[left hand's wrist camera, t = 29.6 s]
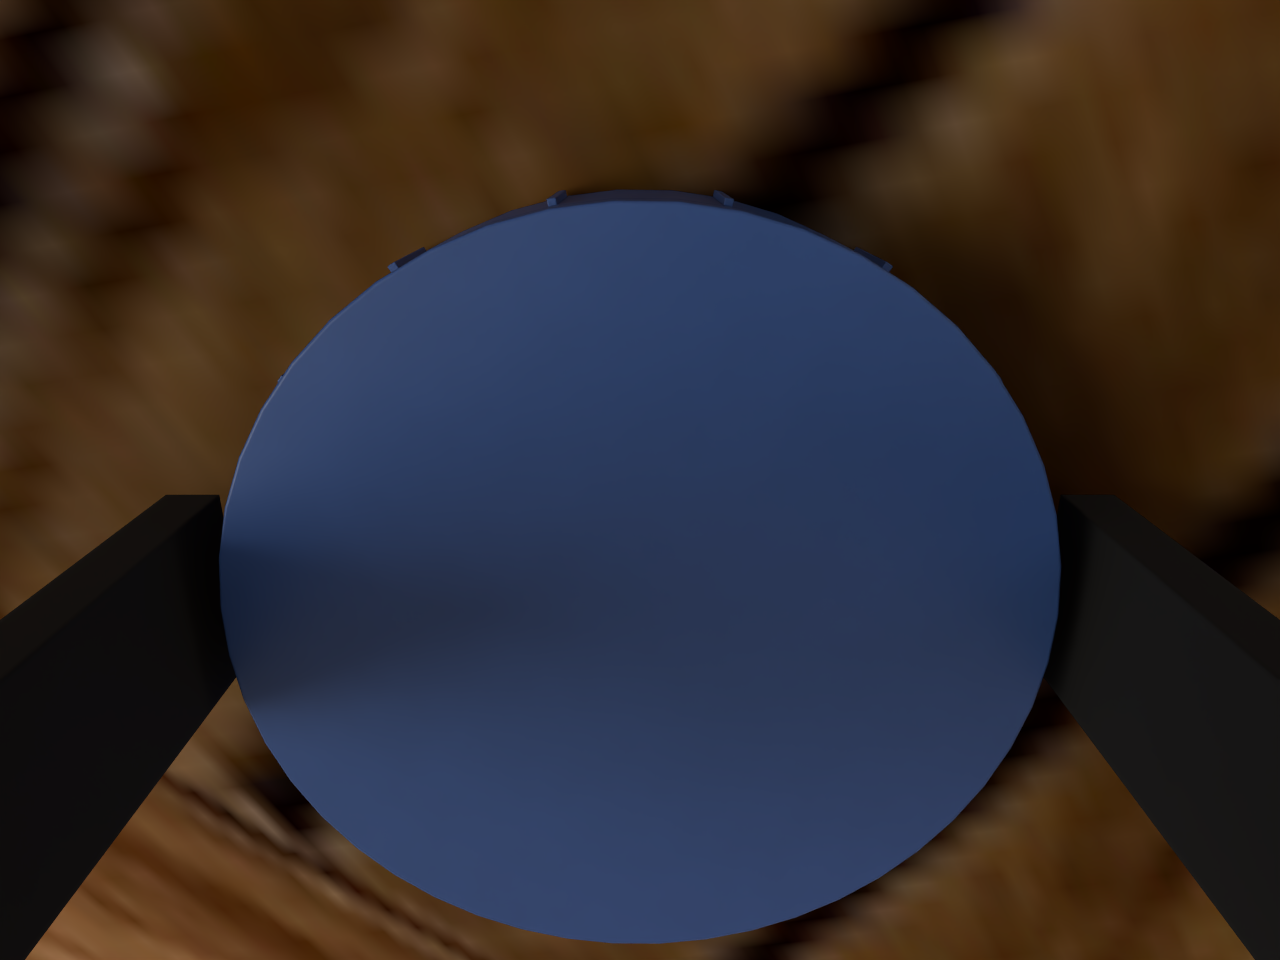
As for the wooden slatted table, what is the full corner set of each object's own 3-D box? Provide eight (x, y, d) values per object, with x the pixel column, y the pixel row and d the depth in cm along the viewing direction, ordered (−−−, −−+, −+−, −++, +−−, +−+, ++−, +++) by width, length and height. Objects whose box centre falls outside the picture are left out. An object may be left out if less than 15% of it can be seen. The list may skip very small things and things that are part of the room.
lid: (163, 268, 12) (69, 294, 10) (986, 105, 11) (1061, 99, 9) (394, 882, 16) (358, 989, 14) (1014, 789, 15) (1071, 888, 13)
